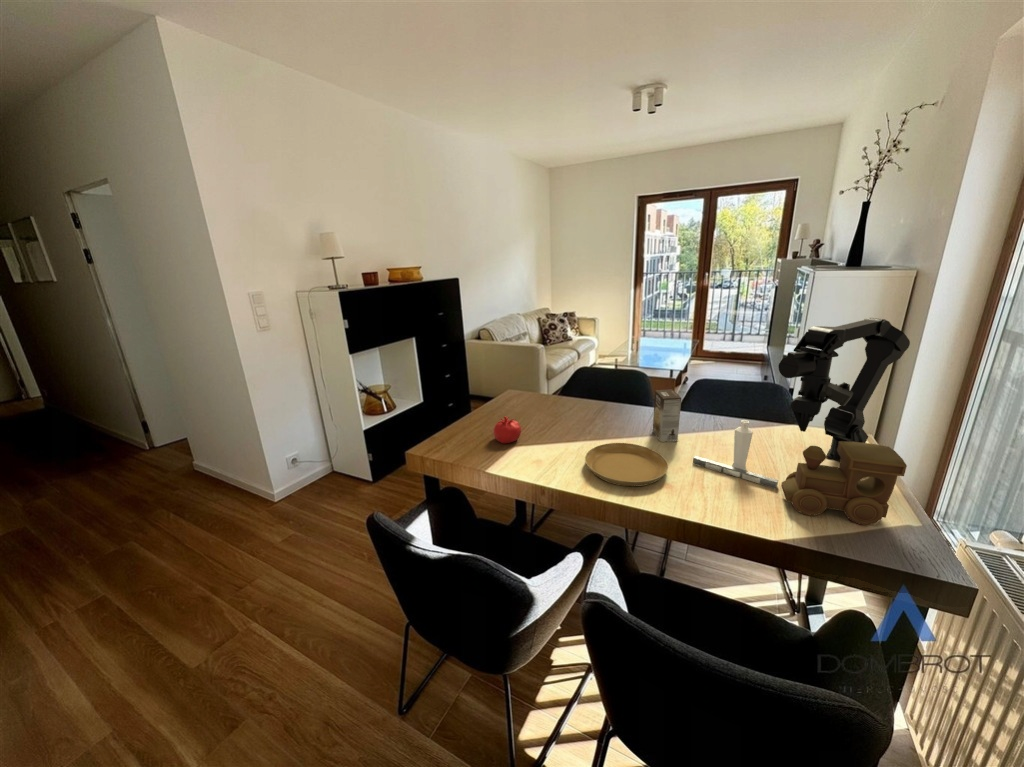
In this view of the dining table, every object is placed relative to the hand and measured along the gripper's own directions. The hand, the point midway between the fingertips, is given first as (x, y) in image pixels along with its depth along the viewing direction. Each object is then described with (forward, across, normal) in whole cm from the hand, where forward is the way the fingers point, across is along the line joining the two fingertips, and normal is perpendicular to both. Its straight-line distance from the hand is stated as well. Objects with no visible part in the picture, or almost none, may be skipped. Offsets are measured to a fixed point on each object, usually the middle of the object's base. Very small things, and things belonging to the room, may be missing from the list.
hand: (806, 426), depth 115 cm
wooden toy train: (+13, -19, -10) cm, 25 cm away
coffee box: (+13, -4, +39) cm, 41 cm away
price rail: (+13, -16, +13) cm, 25 cm away
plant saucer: (+14, -33, +38) cm, 52 cm away
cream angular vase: (+13, -12, +13) cm, 22 cm away
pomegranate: (+13, -41, +81) cm, 92 cm away
